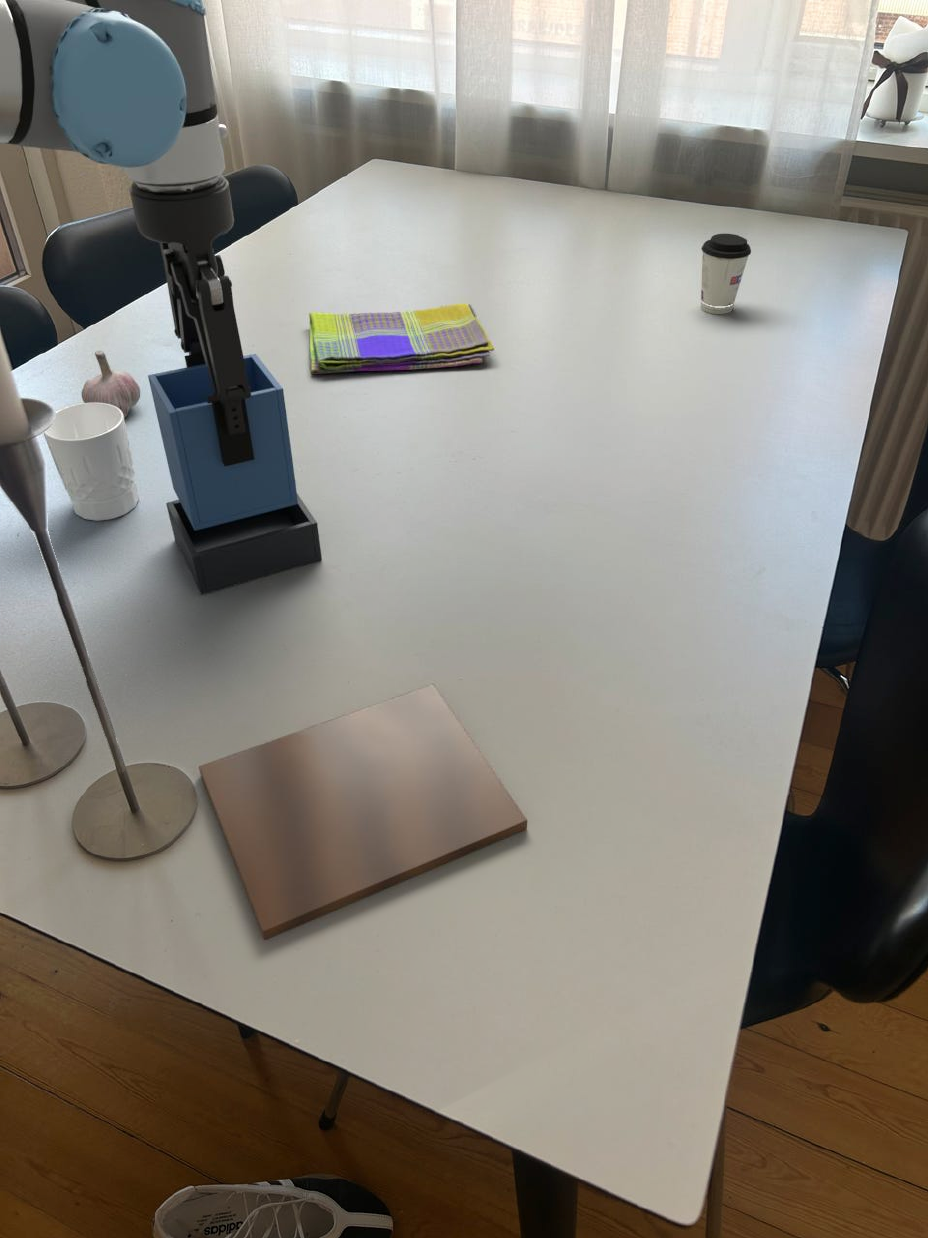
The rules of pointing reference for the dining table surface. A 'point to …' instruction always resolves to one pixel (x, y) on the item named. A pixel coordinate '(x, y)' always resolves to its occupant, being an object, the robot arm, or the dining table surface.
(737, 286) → the coffee cup
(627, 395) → the dining table surface
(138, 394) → the garlic bulb
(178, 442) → the blue bin
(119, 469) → the white cup
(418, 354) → the dish towel
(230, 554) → the charcoal bin
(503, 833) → the brown wooden flat board
